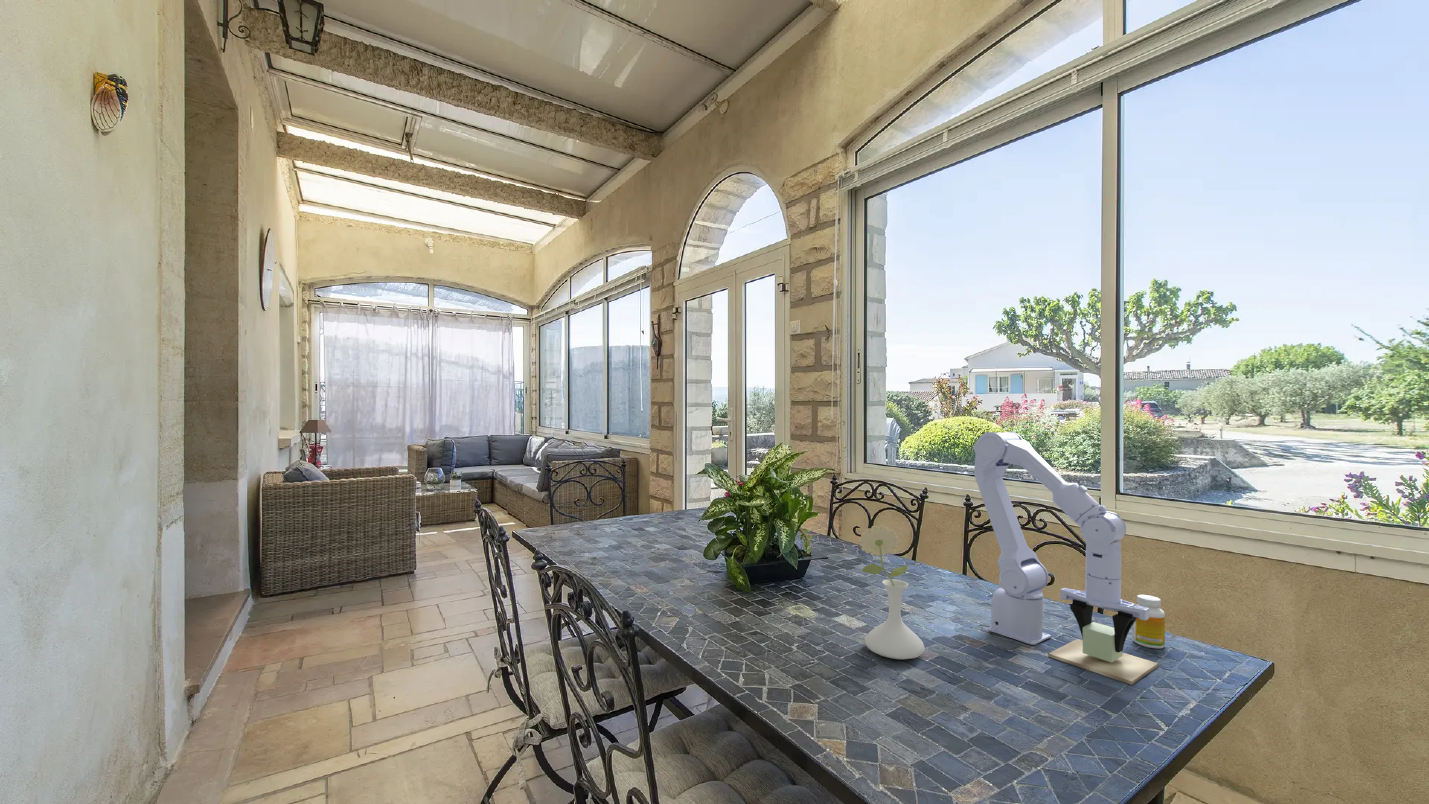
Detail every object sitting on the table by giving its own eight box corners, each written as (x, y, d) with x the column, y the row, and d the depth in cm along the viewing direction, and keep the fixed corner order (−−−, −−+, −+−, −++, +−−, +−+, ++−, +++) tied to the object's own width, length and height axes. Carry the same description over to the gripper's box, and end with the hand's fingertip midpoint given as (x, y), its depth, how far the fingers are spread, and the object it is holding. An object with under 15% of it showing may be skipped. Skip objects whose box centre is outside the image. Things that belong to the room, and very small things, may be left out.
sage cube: (1082, 653, 112) (1082, 627, 112) (1093, 647, 115) (1093, 622, 115) (1111, 662, 108) (1112, 635, 108) (1122, 656, 111) (1122, 630, 111)
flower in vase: (927, 647, 117) (928, 524, 117) (921, 670, 106) (923, 535, 107) (861, 635, 122) (863, 518, 122) (850, 656, 112) (852, 527, 112)
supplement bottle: (1170, 650, 117) (1170, 602, 117) (1140, 647, 118) (1141, 600, 118) (1155, 640, 122) (1156, 594, 122) (1127, 637, 123) (1127, 592, 124)
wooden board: (1048, 656, 113) (1048, 653, 113) (1077, 641, 121) (1077, 638, 121) (1131, 684, 102) (1131, 681, 102) (1157, 666, 110) (1157, 663, 110)
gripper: (1053, 569, 115) (1053, 637, 115) (1139, 588, 103) (1138, 664, 103) (1069, 564, 119) (1068, 630, 119) (1153, 582, 107) (1153, 655, 107)
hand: (1102, 645), depth 111 cm, fingers closed on sage cube, 5 cm apart
